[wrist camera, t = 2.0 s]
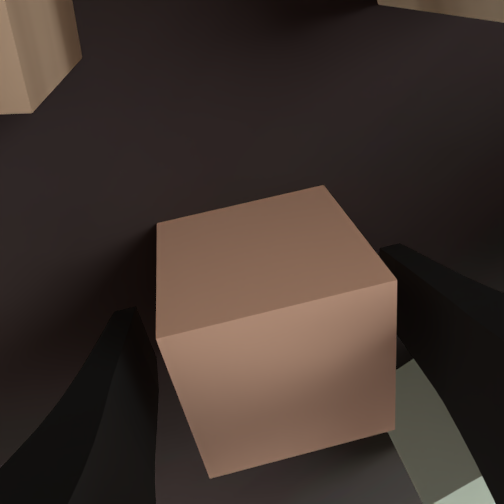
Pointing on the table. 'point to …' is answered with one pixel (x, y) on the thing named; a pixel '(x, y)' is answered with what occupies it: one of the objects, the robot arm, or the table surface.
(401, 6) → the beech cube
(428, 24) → the table surface
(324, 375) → the terracotta cube
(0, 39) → the tan cube
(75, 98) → the table surface
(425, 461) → the sage painted cube
